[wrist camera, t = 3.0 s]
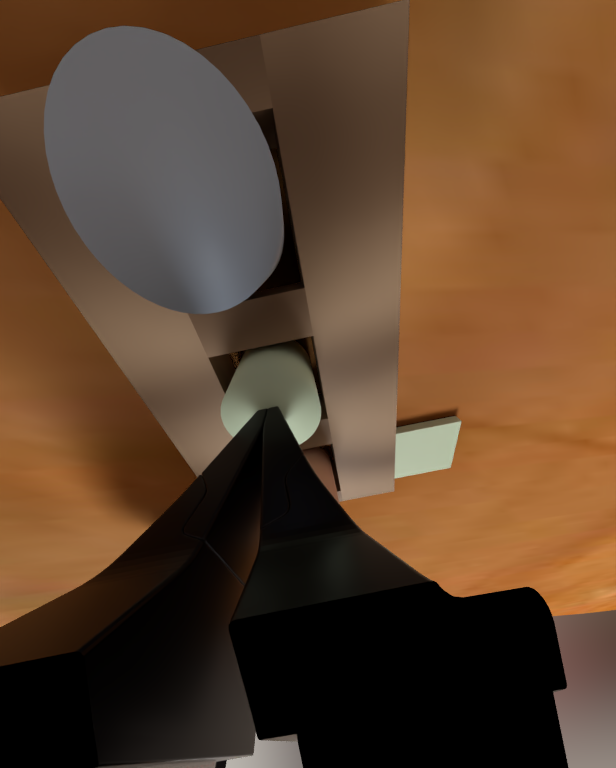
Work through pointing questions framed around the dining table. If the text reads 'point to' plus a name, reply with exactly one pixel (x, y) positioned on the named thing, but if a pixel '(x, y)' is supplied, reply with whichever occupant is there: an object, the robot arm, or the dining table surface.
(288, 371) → the sage button
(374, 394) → the button board
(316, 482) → the robot arm
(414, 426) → the chip
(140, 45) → the grey rounded piece
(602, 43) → the dining table surface
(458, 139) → the dining table surface
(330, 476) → the terracotta button
